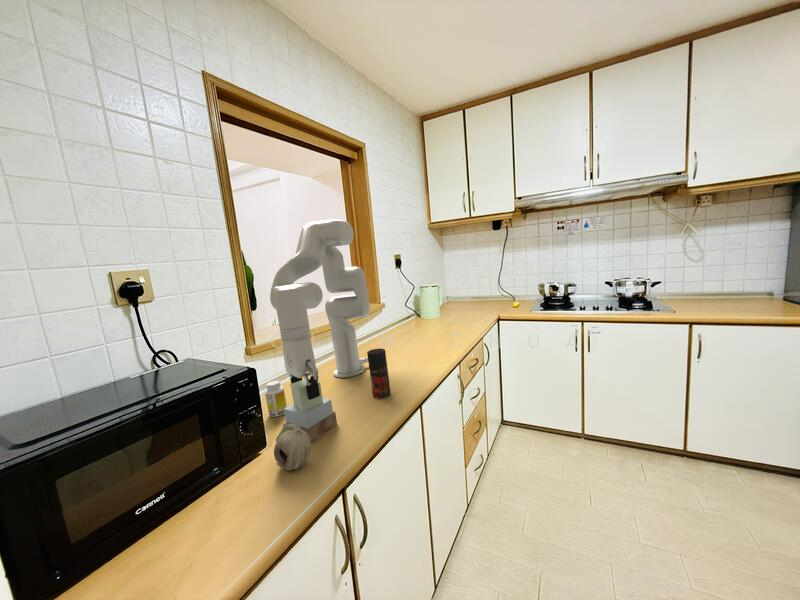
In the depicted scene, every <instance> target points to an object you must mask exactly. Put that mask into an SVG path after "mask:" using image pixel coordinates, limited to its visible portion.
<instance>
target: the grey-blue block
mask: <svg viewBox="0 0 800 600" xmlns="http://www.w3.org/2000/svg"><path fill="white" fill-rule="evenodd" d="M322 398H323V403H321V404H319V405H316V406H314V407H311V408H309V409H306V410H304V411H301V410H300V409H299V408H298V407H296V406H295V405H294V402H293V403H292V404H290V405H287V407H286V408H284V414H283V415H284V418H285V423H289V424H297V425H298V426H300V427H303V428H306V429H309V428H311V427H312V426H314V425H315V424H317V423H318V422H320V421H321V420H323V419H325V418H326V417H328V416H329V415H331V414H332V413H333V411H334V410H333V409H334V408H333V403H332V399H331V398H330V399H329V398H325V397H322Z"/></svg>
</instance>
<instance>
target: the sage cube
mask: <svg viewBox="0 0 800 600" xmlns="http://www.w3.org/2000/svg"><path fill="white" fill-rule="evenodd" d="M308 378H309V379H310V377H308ZM306 385H307V383H306V381H305V379H304V378H303V379H302V380H301V381H298V382H295V383H292V384H291V383H290V389H291V395H292V402H293V403H294V405H295V406H296V407H298V408H299V409H300V410H301V411H304V410H306V409H309V408H311V407H314V406H316V405H319V404H321V403H323V398H324V397H323V393H322V387H321V381H319V380H318V386H319V392H320V396H319V397H316V398H314V399H311V400H309V399H308V396H307V390H306Z"/></svg>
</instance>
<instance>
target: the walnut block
mask: <svg viewBox="0 0 800 600" xmlns="http://www.w3.org/2000/svg"><path fill="white" fill-rule="evenodd" d="M337 420H338V419H337V414H336V411H334V410H333V413H332V414H331V415H329V416H328V417H326V418H325V419H323V420H321V421H320V422H318V423H317V424H315V425H314V426H312V427H311V428H309V429H306V428H303V427H300V428H301V429H302V430H304V431H305V432H306V433H307V434H308V435H309V437H310V439H311V445H312V444H314V443H315V442H316V441H318V440H319V439H321V438H322V436H324V435H326V433H328V432H329V431H330V430H332V429H333V428H334V427H335V426H337V424H338V421H337ZM288 424H289V423H286V422H285V423H283V424H282V428H283V427H284V426H285V425H288Z"/></svg>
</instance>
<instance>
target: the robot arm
mask: <svg viewBox="0 0 800 600" xmlns="http://www.w3.org/2000/svg"><path fill="white" fill-rule="evenodd" d="M353 241H354V229H353V227H352V225H351V223H350V222H348V221H346V220H341V219H326V220H320V221H311V222H308V223H306V224H304V225H303V226H302V229H301V231H300V235H299V238H298V243H297V247H296V251H295V255H293V256H292V257H291V258H290V259H289V260H287V262H285V263H284V264H283V265H282V266H281V267H280V268H279V270H278V271H277V272H276V273H275V275H274V279H273V280H272V281H273V282H272V285H271V288H270V293H269V294H270V295H269V299H270V300H269V301H270V303H271V304H270V305H271V306H272V308H273V309H275V310H276V315H277V321H278V327H279V332H280V338H281V342H282V353H283V361H284V368H285V372H287V373H288V376H289V379H290V384H292V383H295V382H298V381H301V380H304V379H305V381H306V383H307V385H306V390H307V396H308V399H309V400H311V399H314V398H316V397H319V396H320V392H319V386H318V381H319V369H318V367H317V364H316V359H315V358H316V357H315V354H314V349H313V346H312V341H311V338H310V337H311V336H312V334H311V329H310V320H309V316H308V310H310V309H315V308H317V307H318V306H320V304H321V303H322V301H323V296H324V295H323V290H322V288H321V287H320V285H319V284H317V283H315V282H310V281H309V282H302V283H301V282H300V283H297V282H296V281H298V280H300V279H301V278H303V277H305V276H307V275H310V274H311V273H313V272H315V271H317V270H318V269H320V267H322V272H323V280H324V284H325V288H326V290H327V292H329V294H330V293H331V294H342V293H351V292H353V293H354V294H350V295H339V296H338V295H337V296H333V297H330V298H328V299H327V300H326V302H325V304H324V308H325V313H326V317H327V319H328V323H329V325H330V331H331V338H332V345H333V353H334V359H335V367H336V369H335V370H334V371H333V376H334V377H336V378H340V379H341V378H351V377H355V376H359V375H360V373H361V374H362V373H364V371H365V370H366V369H365V366H364V364H365V363H368V356H367V357H360V356H359V348H358V340H357V334H356V332H357V331H356V328H355V327H354V325H353V323H351V321H350V320H353V319H362V318H363V319H364V318H367V317H368V316H369V315H370V312H371V306H370V299H369V291H368V283H367V280H366V279H367V277H366V274H365V272H364V270H363V269H362V268H361V267H359V266H350V267H346V266H345V261H344V255H343V254H342V252H341V251H340V250H339V248H338V247H341V246H342V247H343V246H348V245H351V244H352V242H353ZM295 282H296V283H295ZM309 378H310V379H309Z"/></svg>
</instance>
